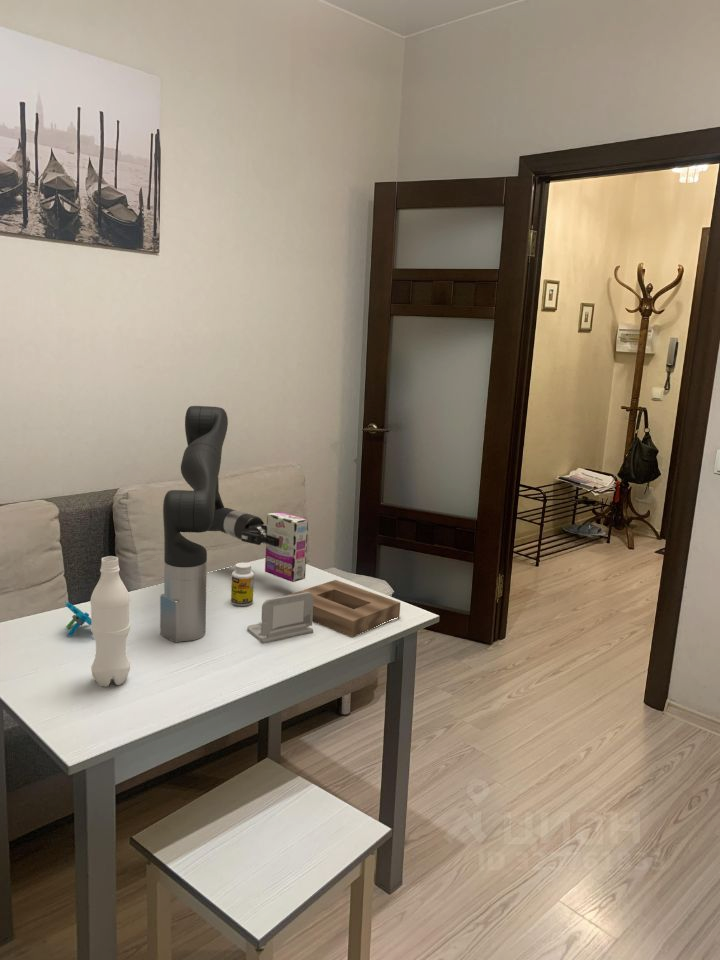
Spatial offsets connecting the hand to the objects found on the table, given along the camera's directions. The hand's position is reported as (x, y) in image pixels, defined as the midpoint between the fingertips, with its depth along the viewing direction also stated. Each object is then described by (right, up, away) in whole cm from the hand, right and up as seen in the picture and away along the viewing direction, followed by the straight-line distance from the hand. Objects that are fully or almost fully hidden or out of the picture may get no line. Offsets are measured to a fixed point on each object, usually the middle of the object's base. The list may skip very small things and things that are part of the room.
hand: (285, 540), depth 196 cm
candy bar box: (0, -10, +2) cm, 10 cm away
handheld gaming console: (+1, -20, -23) cm, 30 cm away
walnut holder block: (+15, -17, -11) cm, 26 cm away
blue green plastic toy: (-42, -18, -30) cm, 55 cm away
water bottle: (-29, -23, -51) cm, 63 cm away
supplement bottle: (-10, -15, -7) cm, 20 cm away
